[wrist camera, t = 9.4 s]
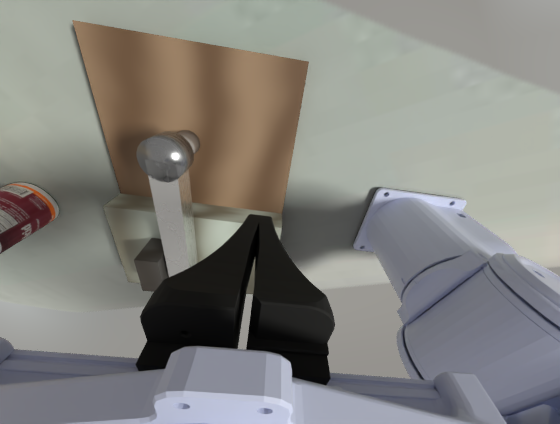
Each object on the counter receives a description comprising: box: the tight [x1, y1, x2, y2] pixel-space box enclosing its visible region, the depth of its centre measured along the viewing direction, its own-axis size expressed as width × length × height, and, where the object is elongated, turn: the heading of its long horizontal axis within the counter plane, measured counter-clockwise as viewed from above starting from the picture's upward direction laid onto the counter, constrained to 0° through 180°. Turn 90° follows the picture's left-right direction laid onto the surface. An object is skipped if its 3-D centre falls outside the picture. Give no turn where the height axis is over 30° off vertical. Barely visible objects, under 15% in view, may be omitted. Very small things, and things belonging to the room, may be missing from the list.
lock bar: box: [137, 131, 198, 277], centre depth 18 cm, size 14×3×2 cm, turn 172°
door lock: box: [72, 20, 309, 294], centre depth 19 cm, size 16×23×6 cm
